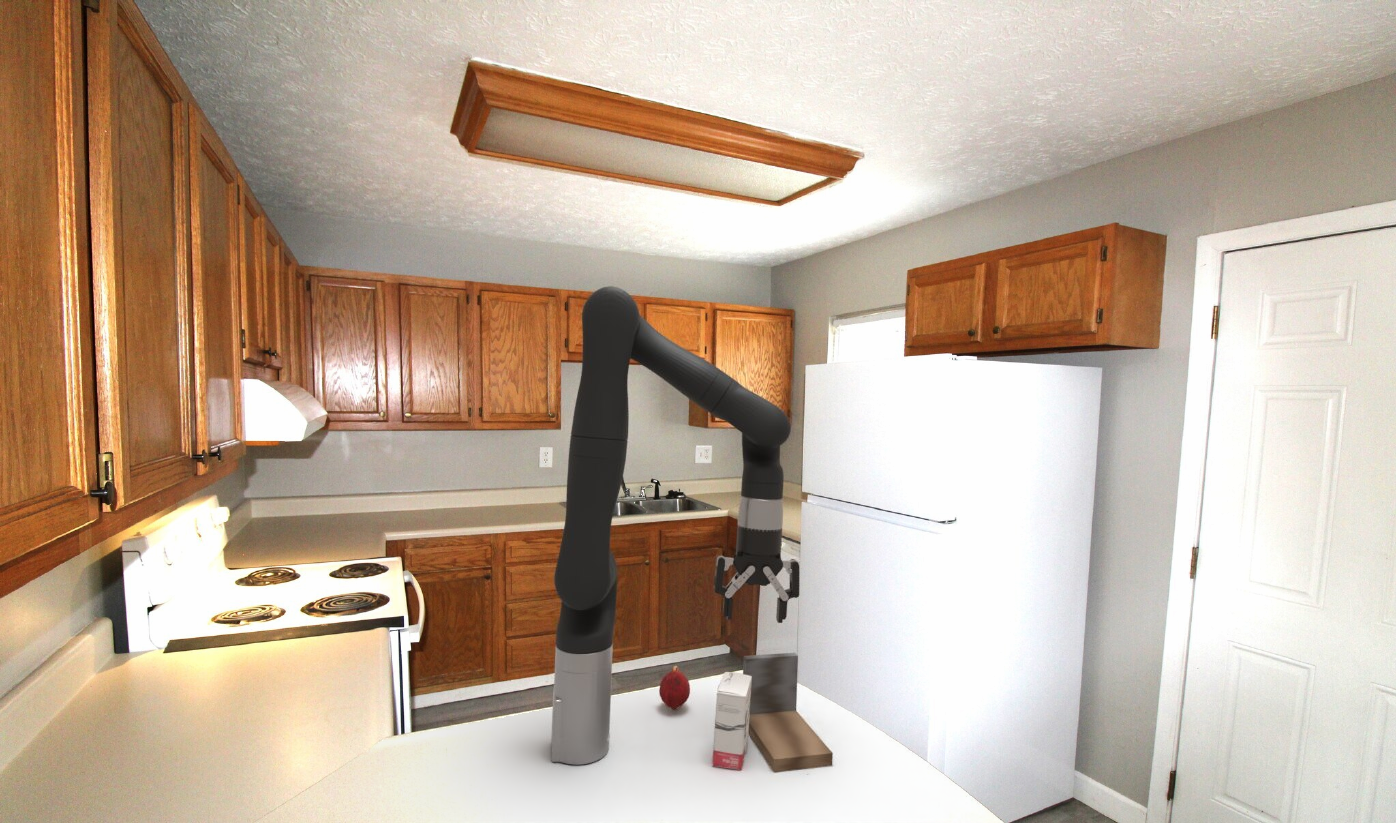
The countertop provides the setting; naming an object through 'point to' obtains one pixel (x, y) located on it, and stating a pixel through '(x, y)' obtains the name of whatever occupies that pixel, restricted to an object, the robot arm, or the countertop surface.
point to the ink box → (732, 720)
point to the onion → (674, 689)
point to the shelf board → (781, 715)
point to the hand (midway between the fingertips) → (754, 620)
